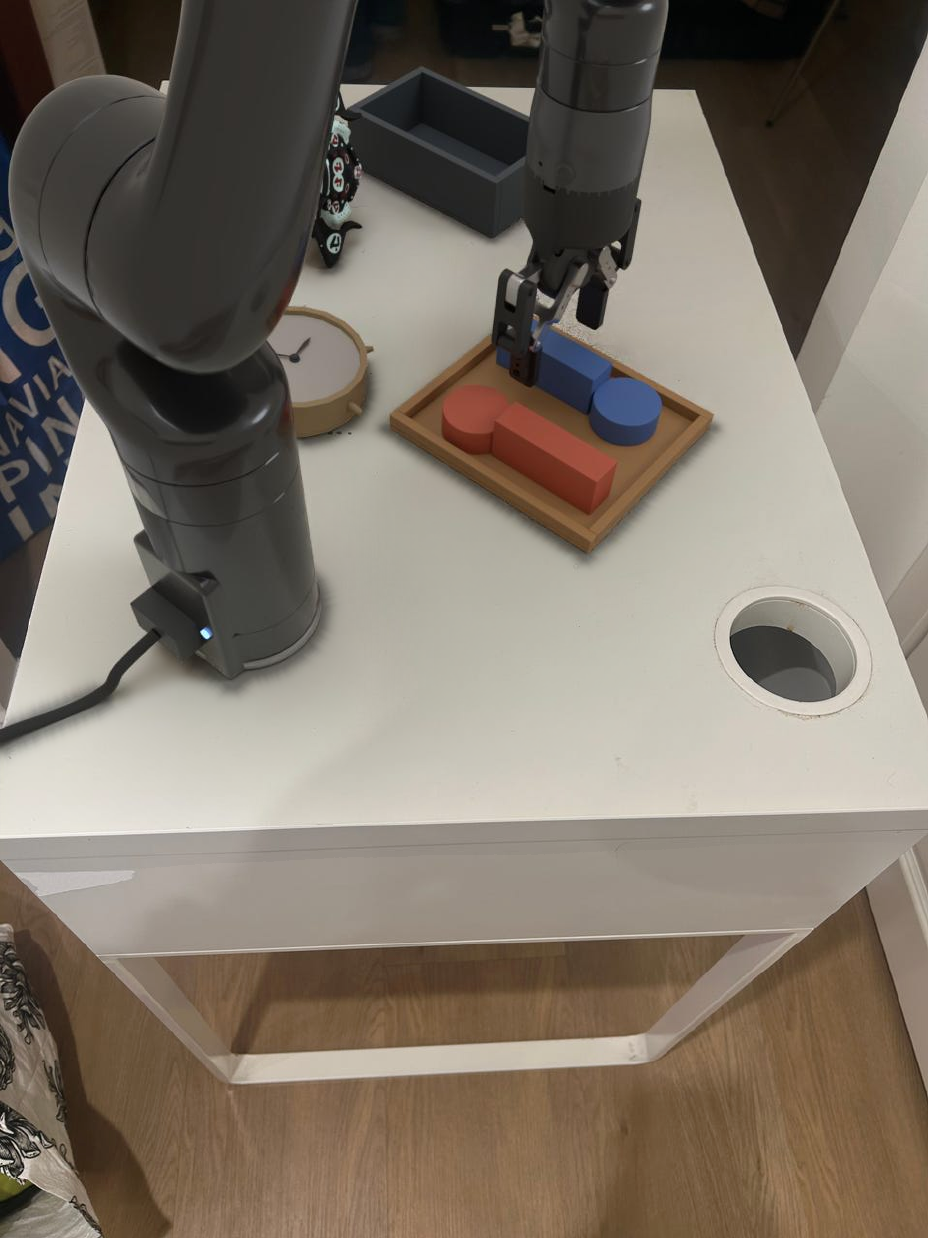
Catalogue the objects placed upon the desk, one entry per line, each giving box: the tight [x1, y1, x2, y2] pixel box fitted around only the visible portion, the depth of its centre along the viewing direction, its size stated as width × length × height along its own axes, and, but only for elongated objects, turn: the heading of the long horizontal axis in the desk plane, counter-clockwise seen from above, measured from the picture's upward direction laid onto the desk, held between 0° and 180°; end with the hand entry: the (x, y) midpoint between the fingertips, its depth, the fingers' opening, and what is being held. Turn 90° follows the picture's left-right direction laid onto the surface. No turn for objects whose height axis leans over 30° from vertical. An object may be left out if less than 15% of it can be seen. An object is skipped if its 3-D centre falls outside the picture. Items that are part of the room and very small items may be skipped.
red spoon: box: [442, 385, 617, 515], centre depth 71 cm, size 5×14×4 cm, turn 51°
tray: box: [389, 314, 715, 554], centre depth 75 cm, size 17×19×1 cm
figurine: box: [311, 90, 363, 269], centre depth 83 cm, size 10×15×14 cm
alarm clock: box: [267, 305, 375, 438], centre depth 75 cm, size 11×5×15 cm
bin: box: [346, 65, 530, 239], centre depth 91 cm, size 11×18×5 cm, turn 51°
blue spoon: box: [496, 319, 662, 446], centre depth 75 cm, size 5×14×4 cm, turn 51°
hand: (556, 351), depth 75 cm, fingers open, 8 cm apart
